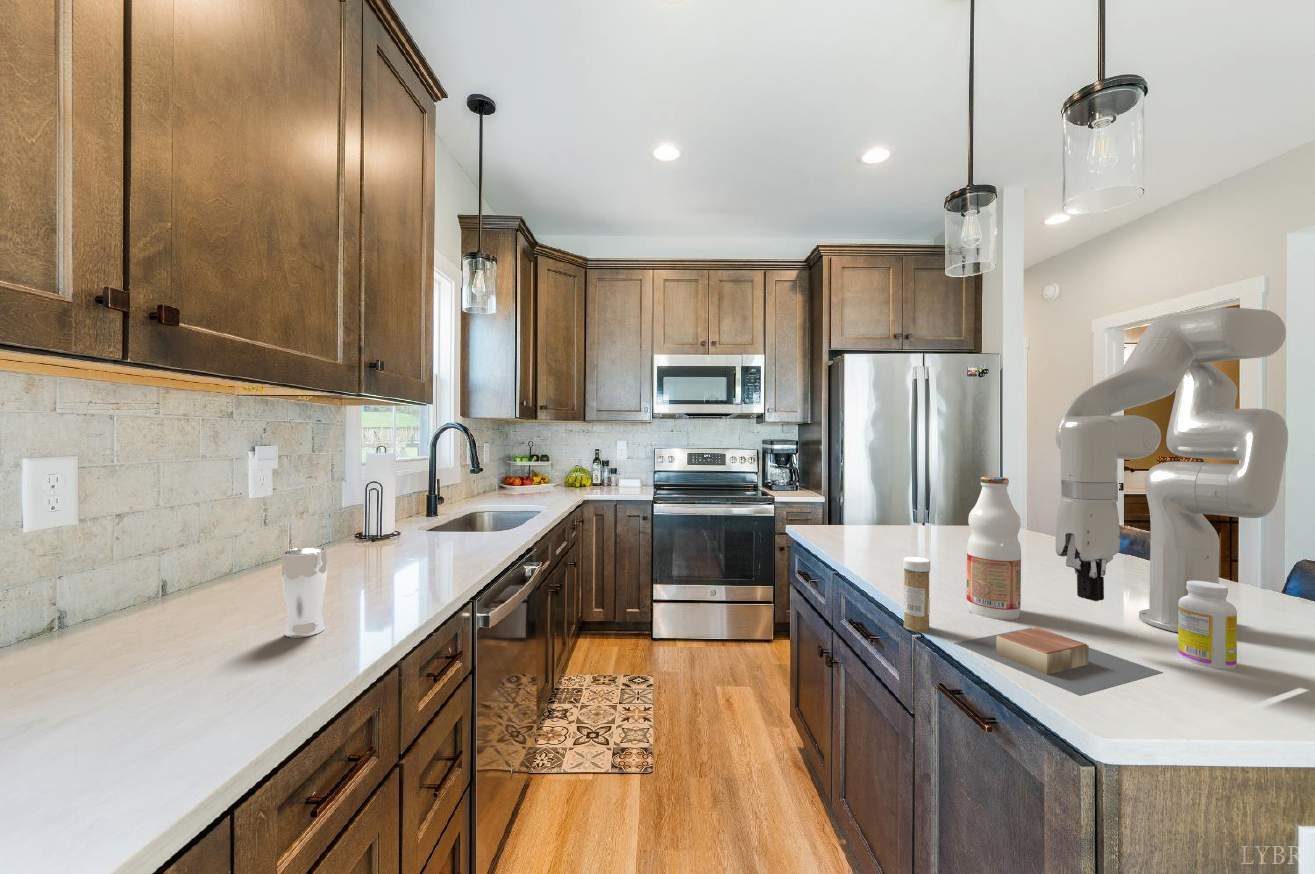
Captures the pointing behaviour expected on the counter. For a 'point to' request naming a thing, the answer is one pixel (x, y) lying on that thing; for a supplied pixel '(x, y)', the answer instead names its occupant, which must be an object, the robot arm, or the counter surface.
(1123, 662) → the rubber mat
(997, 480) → the fruit juice
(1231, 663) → the supplement bottle
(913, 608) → the sprinkles bottle
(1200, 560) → the robot arm
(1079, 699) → the counter surface
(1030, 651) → the birch tile
